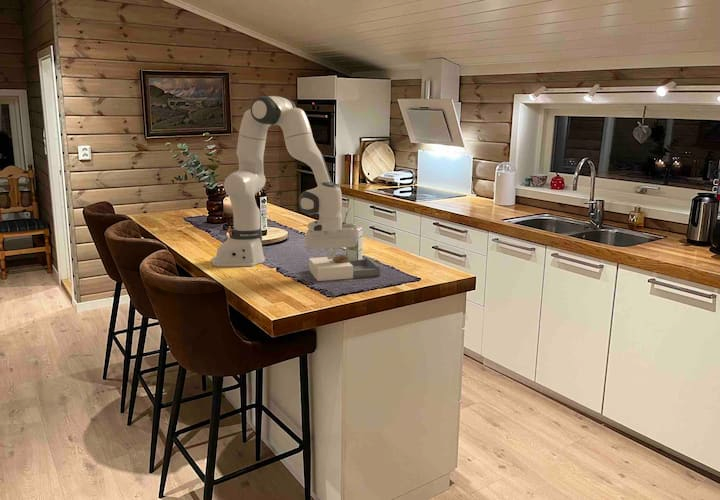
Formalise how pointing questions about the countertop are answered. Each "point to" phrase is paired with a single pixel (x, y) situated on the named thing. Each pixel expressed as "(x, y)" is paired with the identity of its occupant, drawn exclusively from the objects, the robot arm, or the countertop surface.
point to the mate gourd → (345, 217)
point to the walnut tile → (340, 259)
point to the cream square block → (329, 269)
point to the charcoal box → (364, 268)
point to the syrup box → (356, 247)
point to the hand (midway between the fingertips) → (331, 258)
